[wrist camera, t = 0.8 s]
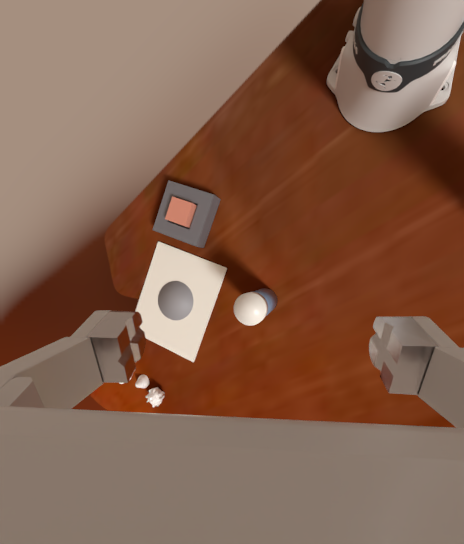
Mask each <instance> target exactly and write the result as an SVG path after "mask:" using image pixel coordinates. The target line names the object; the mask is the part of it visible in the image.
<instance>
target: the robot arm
mask: <svg viewBox="0 0 464 544" xmlns="http://www.w3.org/2000/svg"><path fill="white" fill-rule="evenodd" d="M353 26H354V27H355V29H354V31H349V32H348V34H347V36H346V39H345V42H347V43H346V45H345V46H343V48H342V50H341V54H340V55H339V57H338V59H337V60H336V62H335V64H334V66H333V67H332V69H331V71H330V72H329V74H328V77H327V86H328V87H329V88H330V90H331V91H332V92H333V93H334V94H335V96H336V98H337V102H338V106H339V109H340V111H341V113H342V115H343V116H344V118H345V119H346V120H347V121H348V122H349V123H350V124H352V125H353V126H355V127H357V128H359V129H361V130H364V131H369V132H386V131H391V130H395V129H397V128H400V127H402V126H404V125H406V124H408V123H409V122H411V121H412V120H414V119H415V118H416V117H418V116H419V115H420V114H422V113H423V112H425V111H427V110H431V109H434V108H436V107H439V106H441V105H443V104H444V103H445V102H446V101H447V99H448V97H449V95H450V91H451V86H452V81H453V75H454V70H455V65H456V59H457V54H458V49H459V44H460V38H461V35H462V33H463V29H464V0H364V2H363V4H362V6H361V7H360V8H359V9H358V11H357V13H356V15H355V18H354V21H353ZM336 72H337V73H336ZM442 88H443V90H441V89H442ZM141 324H142V318H141V314H140V313H139V312H133V311H131V312H130V311H109V310H107V311H106V310H98V311H95V312H94V313H93V314H92V315H91V316H90V317H89V318H88V319H87V320H86V321H85V322H84V323H83V324H82V325H81V326H80V328H78V329H77V331H75V332H74V334H73V335H72V336H71V337H65V338H62V339H60V340H58V341H56V342H54V343H51V344H49V345H47V346H45V347H43V348H41V349H38V350H36V351H34V352H32V353H30V354H27V355H25V356H23V357H21V358H19V359H16V360H14V361H12V362H10V363H8V364H6V365H3V366H1V367H0V544H464V348H459V347H458V346H457V345H456V344H455V343H454V342H453V341H452V340H451V339H450V338H449V337H448V336H447V335H446V334H445V333H444V332H443V331H442V330H441V329H440V328H439V327H438V326H437V325H436V324H435V323H434V322H433V321H432V320H431V319H430V318H428V317H425V316H415V317H377V318H376V319H375V321H374V325H373V328H374V330H375V331H376V334H375V335H373V336H372V337H371V339H370V344H369V352H370V357H371V361H372V363H373V364H374V366H375V367H376V368H378V369H379V370H381V374H380V378H381V379H382V381H383V383H384V385H385V387H386V389H387V390H388V392H389V393H396V394H411V395H418V397H420V398H421V399H422V400H423V401H425V402H426V403H427V404H428V405H429V406H431V407H432V408H433V409H434V410H436V411H437V412H438V413H439V414H441V415H442V416H443V417H444V418H446V419H447V420H448V421H449V422H450V423H452V424H453V425H454V426H455V427H457V428H449V427H427V426H407V425H387V424H366V423H346V422H326V421H306V420H285V419H264V418H242V417H221V416H199V415H179V414H158V413H138V412H117V411H97V410H76V409H72V408H73V407H74V406H75V405H77V404H78V403H79V402H80V401H82V400H83V399H84V398H85V397H87V396H88V395H89V394H91V393H92V392H93V391H94V390H96V389H97V388H98V387H99V386H101V385H102V384H103V382H118V383H128V382H129V380H130V378H131V376H132V374H133V372H134V370H135V369H136V366H135V362H136V361H138V360H139V359H141V357H142V355H143V353H144V349H145V345H146V338H145V332H144V331H143V330H142V329H141V328H140V325H141Z"/></svg>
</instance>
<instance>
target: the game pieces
mask: <svg viewBox="0 0 464 544" xmlns="http://www.w3.org/2000/svg"><path fill="white" fill-rule="evenodd" d="M132 375H133V374H132ZM130 379H131V378H130ZM120 384H123V383H120ZM148 385H149V379H148V377H147V376H146V375H140V376H139V377H138V379H137V382H136V384H135V386H136V387H138V388H147V387H148ZM148 391H149V394H148V395H147V396H146V398H148V401H146V402H147V403H148V402H150V403H151V404H153V407H154V406H159V405H160V404H161V402H162V399H163V398H164V396H163V394H164V392H163V391H161V390H160V389H159V388H158V387H156V388H152V389H150V390H148Z"/></svg>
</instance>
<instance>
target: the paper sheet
mask: <svg viewBox="0 0 464 544" xmlns="http://www.w3.org/2000/svg"><path fill="white" fill-rule="evenodd" d="M226 271H227V268H226V267H223V266H221V265H218V264H216V263H213V262H210V261H208V260H205V259H203V258H200V257H198V256H195V255H192V254H190V253H187V252H185V251H182V250H180V249H177V248H174V247H172V246H169V245H167V244H164V243H162V242H159V241H158V243H157V246H156V249H155V252H154V256H153V259H152V262H151V265H150V268H149V271H148V274H147V277H146V280H145V283H144V286H143V289H142V292H141V295H140V298H139V302H138V305H137V308H136V311H135V312H139V313H140V314H141V318H142V324H141V325H140V328H141V329H142V330H143V331H144V332H145V338H147V339H149V340H151V341H153V342H155V343H156V344H158V345H160V346H162V347H164V348H166V349H168V350H170V351H172V352H174V353H176V354H178V355H180V356H182V357H184V358H186V359H188V360H190V361H192V362H194V361H195V358H196V355H197V352H198V349H199V347H200V344H201V341H202V338H203V335H204V333H205V330H206V327H207V324H208V321H209V319H210V316H211V313H212V310H213V307H214V305H215V302H216V299H217V296H218V293H219V291H220V288H221V285H222V282H223V279H224V277H225V274H226Z"/></svg>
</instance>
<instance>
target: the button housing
mask: <svg viewBox="0 0 464 544" xmlns="http://www.w3.org/2000/svg"><path fill="white" fill-rule="evenodd" d="M172 196H173V197H176V198H179V199H182V200H185V201H188V202H191V203H193V204H195V205H197V208H196V211H195V214H194V217H193V220H192V223H191V226H190V228H188V227H185V226H183V225H180V224H177V223H174V222H171V221H169V220H166V219H165V217H166V214H167V211H168V208H169V205H170V202H171V199H172ZM220 200H221V199H219V198H218V197H217V196H215V195H214V194H210V193H207V192H204V191H201V190H198V189H195V188H191V187H188V186H185V185H182V184H179V183H175V182H172V181H169V180H168V183H167V186H166V189H165V193H164V196H163V199H162V202H161V205H160V208H159V211H158V214H157V217H156V220H155V224H154V227H153V230H154V231H157V232H159V233H162V234H165V235H167V236H170V237H173V238H175V239H178V240H180V241H183V242H186V243H188V244H191V245H194V246H196V247H201V248H204V246H205V243H206V240H207V237H208V235H209V232H210V229H211V226H212V223H213V220H214V217H215V214H216V211H217V208H218V206H219V203H220Z"/></svg>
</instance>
